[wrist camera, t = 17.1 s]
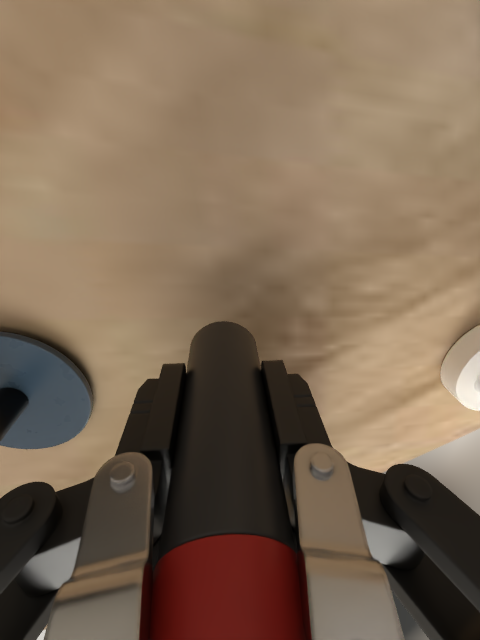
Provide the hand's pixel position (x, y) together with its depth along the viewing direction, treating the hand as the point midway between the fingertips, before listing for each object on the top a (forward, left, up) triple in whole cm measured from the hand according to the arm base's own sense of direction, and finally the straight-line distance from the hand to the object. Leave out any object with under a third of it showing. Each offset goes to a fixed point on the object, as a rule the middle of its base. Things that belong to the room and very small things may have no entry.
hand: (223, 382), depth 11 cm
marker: (0, 0, -2) cm, 2 cm away
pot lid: (+18, -5, -11) cm, 22 cm away
